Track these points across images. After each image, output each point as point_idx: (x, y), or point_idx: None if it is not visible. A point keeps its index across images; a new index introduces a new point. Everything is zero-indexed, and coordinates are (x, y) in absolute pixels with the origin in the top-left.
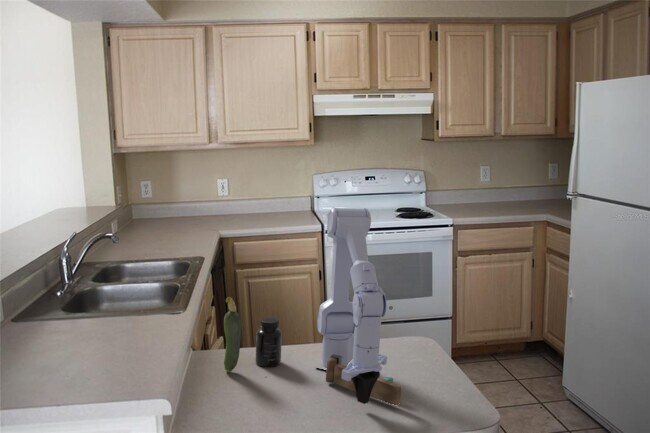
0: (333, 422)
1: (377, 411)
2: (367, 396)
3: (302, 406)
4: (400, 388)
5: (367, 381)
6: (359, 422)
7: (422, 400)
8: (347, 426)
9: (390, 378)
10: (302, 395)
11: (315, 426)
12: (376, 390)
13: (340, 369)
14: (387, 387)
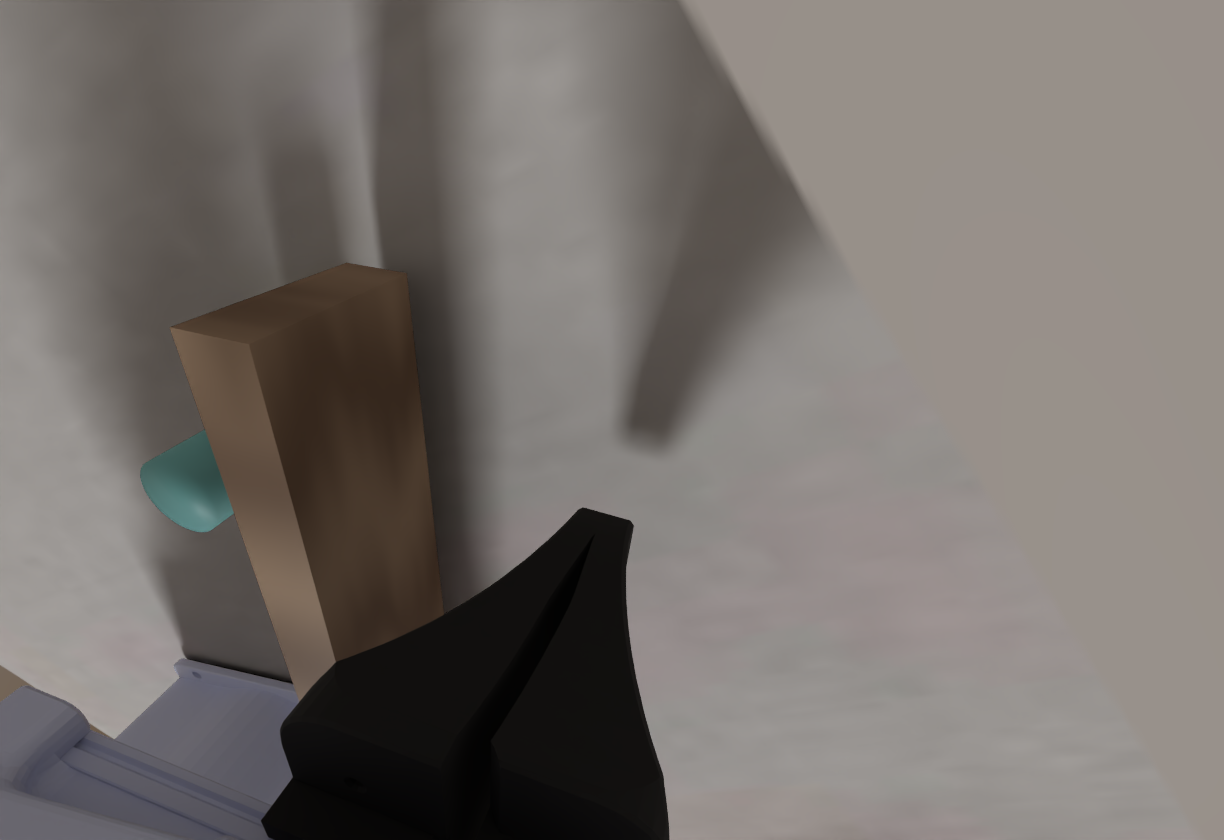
0: (951, 613)
1: (557, 392)
2: (597, 557)
3: (812, 790)
4: (220, 319)
5: (660, 786)
6: (840, 452)
7: (112, 139)
8: (974, 512)
9: (162, 486)
10: (676, 801)
11: (1092, 699)
12: (385, 513)
13: None
14: (316, 453)
